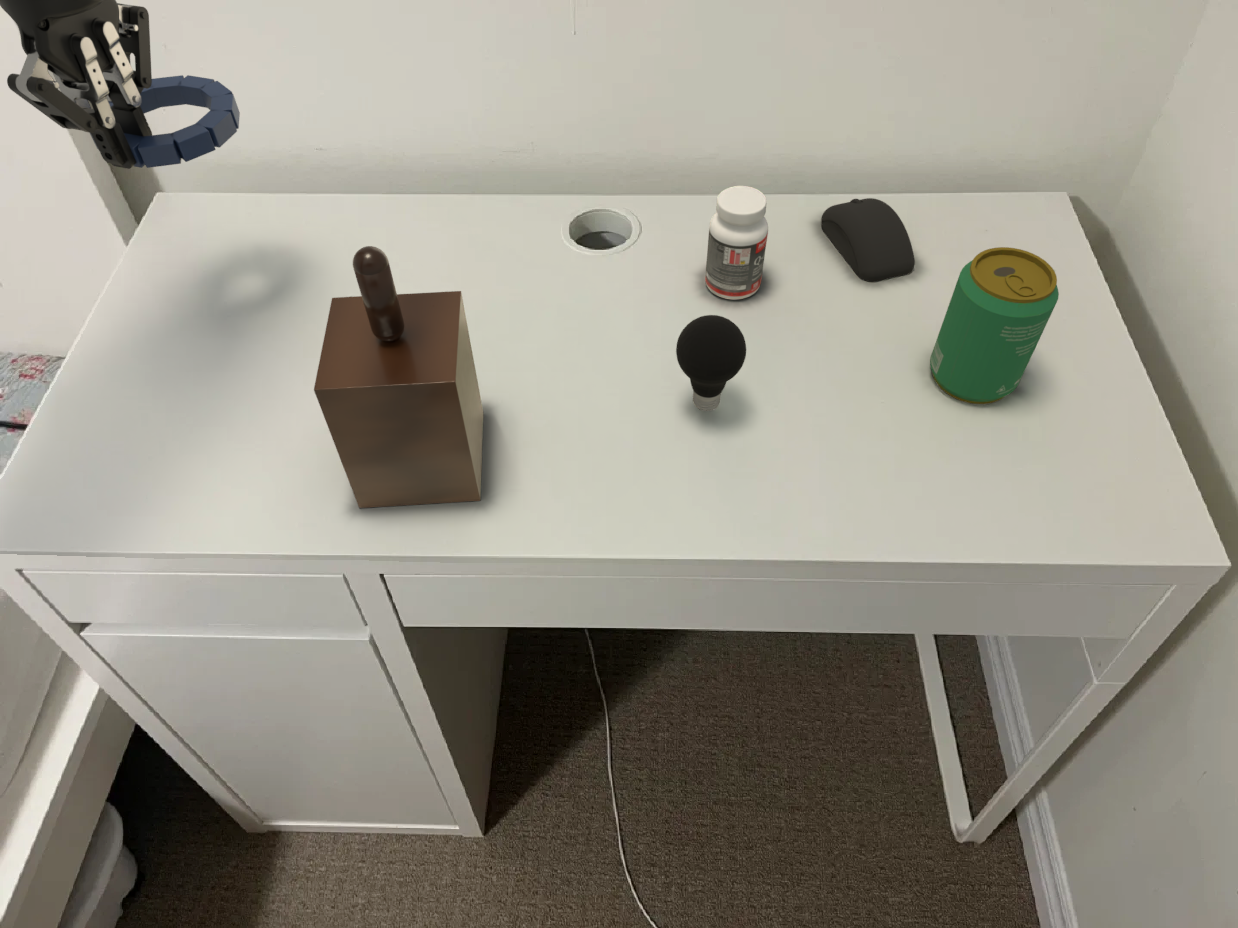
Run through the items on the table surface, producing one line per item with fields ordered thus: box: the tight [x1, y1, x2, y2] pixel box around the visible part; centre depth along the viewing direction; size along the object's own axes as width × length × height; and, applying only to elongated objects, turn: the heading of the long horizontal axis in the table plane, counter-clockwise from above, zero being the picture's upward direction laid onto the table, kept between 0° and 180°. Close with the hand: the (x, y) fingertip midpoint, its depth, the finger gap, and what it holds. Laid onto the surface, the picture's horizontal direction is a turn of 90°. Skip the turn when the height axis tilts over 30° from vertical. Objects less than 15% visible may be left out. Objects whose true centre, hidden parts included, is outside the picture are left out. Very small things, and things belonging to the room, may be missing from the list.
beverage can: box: [929, 246, 1060, 405], centre depth 79 cm, size 8×8×12 cm
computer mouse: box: [820, 197, 916, 283], centre depth 95 cm, size 6×11×4 cm, turn 18°
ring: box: [89, 74, 241, 169], centre depth 77 cm, size 12×12×2 cm
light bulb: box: [675, 314, 747, 412], centre depth 78 cm, size 6×6×10 cm
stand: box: [313, 245, 484, 509], centre depth 70 cm, size 10×10×22 cm
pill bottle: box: [704, 185, 769, 300], centre depth 89 cm, size 6×6×10 cm
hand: (132, 156), depth 75 cm, fingers closed on ring, 2 cm apart
